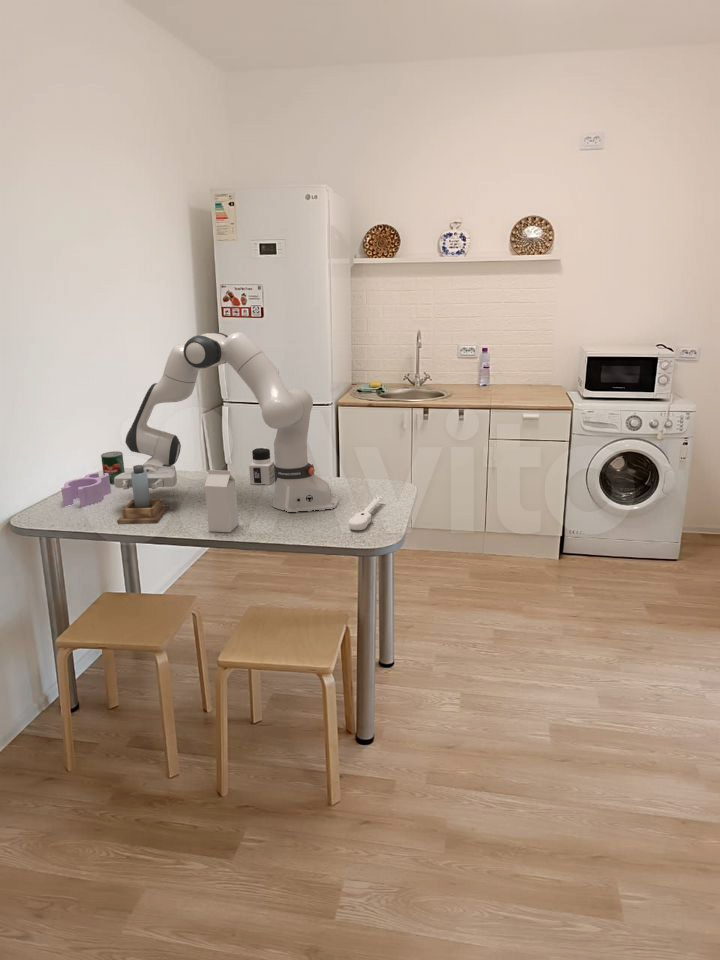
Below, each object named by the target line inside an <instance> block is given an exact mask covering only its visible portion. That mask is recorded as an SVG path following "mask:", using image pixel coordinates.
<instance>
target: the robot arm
mask: <svg viewBox="0 0 720 960" xmlns="http://www.w3.org/2000/svg"><path fill="white" fill-rule="evenodd" d="M263 351H264V350H262V349H261V348H260V346H259V345H257V344H256V342H254V341H253V340H252V339H251V338H250V337H248V335H247V334H245V333H243V332H240V331H237V332H233V333H231V334H229V335H227V334H225V333H221V332H214V333H213V332H212V333H211V332H209V333H208V332H206V333H202V334H198V335H194V336H192V337H190V338H189V339H188V340H187V341H186V342H185V344H184V343H181V344H177V345H174V346H173V347H172V349H171V350H170V353H169V355H168V358H167V360H166V363H165V366H164V368H163V369H164V370H163V374H162V376H161V378H160V380H159V381H158V382H154V383H153V384H151V385H150V386H149V388H148V389H147V391H146V393H145V395H144V398H143V400H142V402H141V405H140V406H139V409H138V411H137V413H136V415H135V418H134V420H133V423H132V424H131V427H130V428H129V429H128V430H127V433H126V436H125V441H124V442H125V443H124V444H125V445H126V446H127V448H128V449H129V450H130V452H132V453H137V454H142V455H146V456H149V458H148V459H147V460H146V462H144V463H143V464H142V465H143V468H144V470H145V471H147V477H148V486H149V489H152V490H153V489H154V490H157V489H158V488H169V487H170V488H172V487H175V486H176V485H177V481H178V478H177V470H176V466H175V465H176V463H177V461H178V459H179V456H180V453H181V449H182V448H181V445H182V444H181V442H180V439H179V437H178V436H177V435H176V434H173V433H170V432H168V431H162V430H159V429H156V428H154V427H151V426H149V425H148V422H149V420H150V416H151V414H152V412H153V410H154V408H155V406H156V405H159V404H165V403H166V404H167V403H178V402H183V401H185V400H187V399H189V397H190V396H192V394H193V392H194V389H195V386H196V383H197V378H198V376H199V371H200V369H207V368H215V367H218V366H220V365H224V364H226V363H227V364H228V365H230V366H231V368H233V370H234V371H235V372H236V373H237V375H238V376H239V377H240V379H242V381H243V382H244V383H245V384H246V386H247V387H248V388H249V389H250V390H251V392H252V393H253V395H254V396H255V399H256V401H257V402H258V405H259V407H260V409H261V415H262V420H263V422H264V423H265V424H266V425H267V426H268V427H270V428H271V429H275V430H276V434H275V439H274V441H273V453H274V479H275V480H274V482H275V485H274V495H273V497H274V498H273V501H272V507H274V508H275V509H277V510H282V511H284V510H285V512H286V511H287V512H286V513H288V512H296V513H299V512H298V511H308V512H316V511H315V510H319V511H326V510H325V509H331V510H334V509H335V508H336V506H338V505H339V498H338V496H337V495H335V494H332V490H331V489H332V488H331V487H330V485H329V483H328V482H327V481H326V480H324V479H323V478H321V477H319V476H318V475H316V474H315V466H314V464H313V463H312V464H311V463H309V462H308V435H309V427H310V420H311V419H310V418H311V411H312V408H313V405H314V402H313V398H312V396H311V394H310V393H309V392H308V391H307V390H306V389H302V388H299V387H298V388H297V387H295V388H289V389H287V388H286V387H285V385H284V383H283V382H282V380H281V376H280V371H279V370H278V368H277V366H275V365H274V363H273V362H272V361H271V360H270V358H269V357H268V356H267V355H266V354H265V352H263ZM131 472H132V471H127V472H126V471H125V472H124V473H121V474H119V475H117V476H116V477H115V478H114V484H113V485H114V487H115V488H116V489H123V490H129V489H133V487H132V478H131ZM333 508H334V509H333ZM312 510H314V511H312Z"/></svg>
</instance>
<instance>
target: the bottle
mask: <svg viewBox="0 0 720 960" xmlns="http://www.w3.org/2000/svg"><path fill="white" fill-rule="evenodd" d="M132 469H133V471H130V472H131V478H132V487H133V488H132V493H133V500H134V503H135V508H151V504H150V499H151V497H150V488H149V486H148V477H147V471H145V470H144V468H143V464H138V465H133V466H132Z"/></svg>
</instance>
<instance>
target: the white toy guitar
mask: <svg viewBox="0 0 720 960" xmlns="http://www.w3.org/2000/svg"><path fill="white" fill-rule="evenodd" d="M383 499H384V497H383V496H374V497H373V499H372V501H371V502H370V503H369V504H368V505H367V506H366V507H365V508H364V510H362V511H358V512H357V513H355V514H354V515H353V516H352V517H351V518H350V519H349V520H348V527H349V530H351V529H352V530H351V531H363V530H365V529H366V528H367V527H368V526H369V525H370V524H371V523H372V522H371V521H372V514H371V513H370V512H371V511H372V510H373V509H374V508H375V506H376V505H377V504H378V503H379V502H380V501H382V500H383Z"/></svg>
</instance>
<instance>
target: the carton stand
mask: <svg viewBox="0 0 720 960" xmlns="http://www.w3.org/2000/svg"><path fill="white" fill-rule="evenodd" d="M150 504H151V508H135V503H134V499H131V500H130V501H129V502H128V503H127V504H126V505H125V506H124V507H123V508H122V515H121V516H120V517H119V518H118V519H117V520H116V524H117V523H118V524H117V525H132V524H133V525H136V524H139V525H141V524H158V523H159V522H160V521H161V520H162V518H163V517H164V516H165V514H166V513H167V512H168V510H169V509H170V507H169V505H163V501H162V498H155V499H154V498H153V499H152V498H150ZM166 511H167V512H166ZM163 515H164V516H163Z"/></svg>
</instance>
